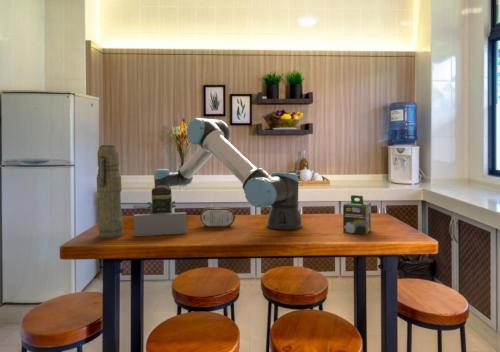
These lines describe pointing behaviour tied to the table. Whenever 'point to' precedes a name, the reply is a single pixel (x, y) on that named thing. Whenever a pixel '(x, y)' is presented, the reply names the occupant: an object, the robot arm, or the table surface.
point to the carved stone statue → (109, 192)
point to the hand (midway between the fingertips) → (160, 210)
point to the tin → (217, 216)
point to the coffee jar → (161, 199)
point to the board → (160, 224)
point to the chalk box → (357, 216)
